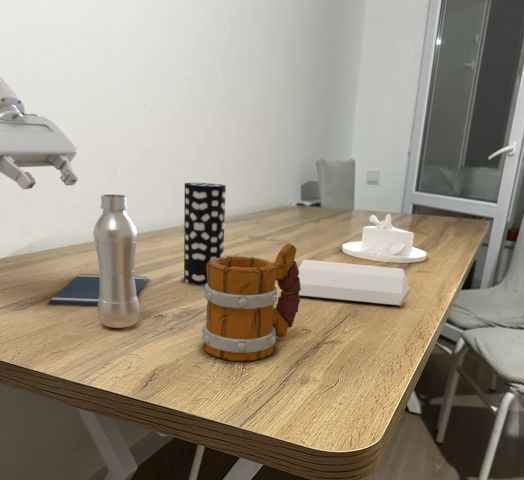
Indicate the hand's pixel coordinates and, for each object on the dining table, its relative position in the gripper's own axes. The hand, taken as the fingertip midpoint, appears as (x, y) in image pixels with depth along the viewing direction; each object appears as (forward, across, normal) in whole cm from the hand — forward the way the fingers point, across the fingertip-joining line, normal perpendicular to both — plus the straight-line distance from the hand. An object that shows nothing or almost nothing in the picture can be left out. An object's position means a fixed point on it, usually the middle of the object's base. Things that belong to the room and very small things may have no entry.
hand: (52, 184), depth 78 cm
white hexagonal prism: (+44, -36, +14) cm, 58 cm away
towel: (+12, -16, -17) cm, 26 cm away
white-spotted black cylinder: (+22, -33, -8) cm, 40 cm away
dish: (+45, -92, +14) cm, 103 cm away
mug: (+38, -1, +8) cm, 39 cm away
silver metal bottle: (+22, 0, -7) cm, 23 cm away
